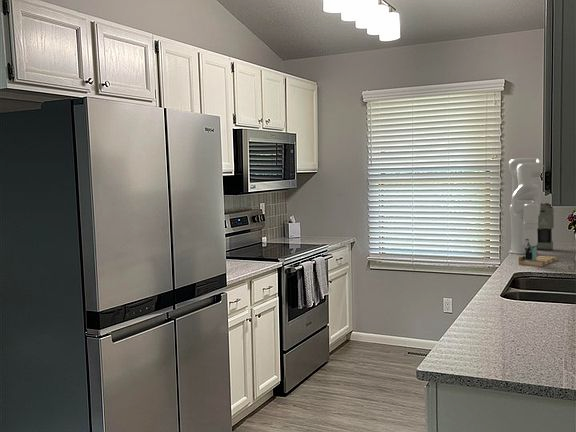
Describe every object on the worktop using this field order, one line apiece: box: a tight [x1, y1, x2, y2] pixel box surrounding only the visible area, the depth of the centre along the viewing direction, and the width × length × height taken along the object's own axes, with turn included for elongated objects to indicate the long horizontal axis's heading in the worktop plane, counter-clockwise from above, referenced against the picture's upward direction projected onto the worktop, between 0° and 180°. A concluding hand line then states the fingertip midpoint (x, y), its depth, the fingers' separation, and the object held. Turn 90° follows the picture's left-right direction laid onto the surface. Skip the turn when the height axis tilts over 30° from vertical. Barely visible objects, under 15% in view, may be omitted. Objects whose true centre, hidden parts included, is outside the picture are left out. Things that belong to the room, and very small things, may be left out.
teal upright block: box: [524, 247, 538, 261], centre depth 308 cm, size 5×4×7 cm
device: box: [536, 202, 555, 251], centre depth 357 cm, size 14×8×30 cm, turn 59°
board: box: [518, 251, 558, 267], centre depth 311 cm, size 24×12×4 cm, turn 136°
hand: (530, 258), depth 308 cm, fingers closed on teal upright block, 5 cm apart
